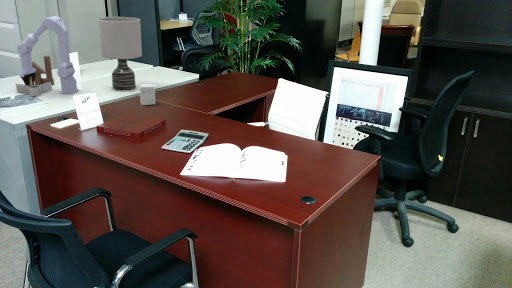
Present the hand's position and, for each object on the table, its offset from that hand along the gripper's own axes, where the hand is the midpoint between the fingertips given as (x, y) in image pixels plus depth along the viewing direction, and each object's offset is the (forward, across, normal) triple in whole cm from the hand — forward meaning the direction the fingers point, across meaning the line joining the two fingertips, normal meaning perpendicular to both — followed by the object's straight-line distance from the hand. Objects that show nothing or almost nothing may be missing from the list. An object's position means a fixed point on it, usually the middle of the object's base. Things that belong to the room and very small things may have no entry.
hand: (30, 86), depth 268 cm
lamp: (+2, -16, +52) cm, 54 cm away
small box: (+2, +13, +76) cm, 77 cm away
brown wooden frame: (+2, -13, +2) cm, 13 cm away
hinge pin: (+2, 0, 0) cm, 2 cm away
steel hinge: (+2, +6, +5) cm, 8 cm away
